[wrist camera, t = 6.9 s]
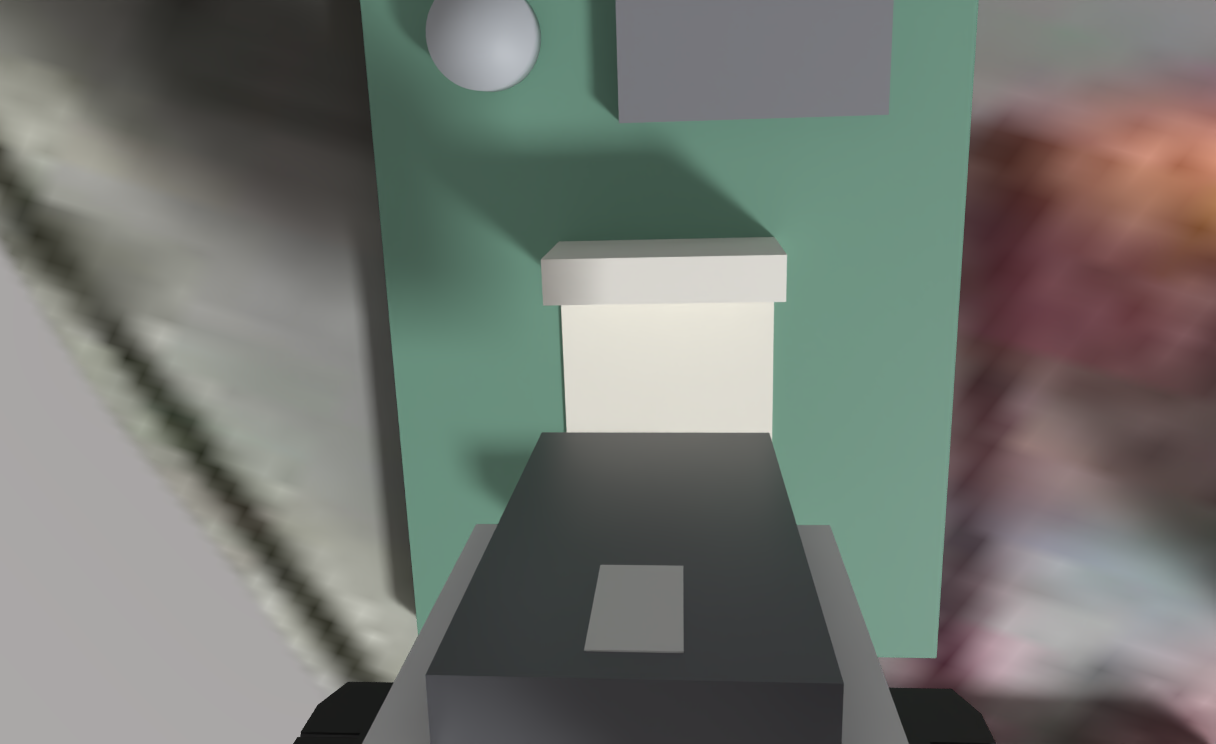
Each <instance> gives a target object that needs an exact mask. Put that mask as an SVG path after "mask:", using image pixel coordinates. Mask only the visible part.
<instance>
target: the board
mask: <svg viewBox="0 0 1216 744" xmlns="http://www.w3.org/2000/svg"><path fill="white" fill-rule="evenodd" d="M360 4H361V15H362V26H363V37H364V48H365V59H366V70H367V81H368V92H369V103H370V114H371V125H372V136H373V147H374V158H375V169H376V179H377V190H378V201H379V212H380V223H381V234H382V245H383V256H384V267H385V278H386V289H387V300H388V311H389V322H390V333H391V343H392V354H393V365H394V376H395V387H396V398H397V409H398V420H399V431H400V442H401V453H402V464H403V475H404V486H405V497H406V507H407V518H408V529H409V540H410V551H411V562H412V573H413V584H414V595H415V606H416V617H417V628H418V635H419V633H420V631H421V629H422V627H423V625H424V624H425V622H426V620H427V618H428V616H429V614H430V612H431V610H432V608H433V606H434V604H435V602H436V600H437V599H438V597H439V595H440V593H441V591H442V589H443V587H444V585H445V583H446V581H447V579H448V577H449V575H450V573H451V572H452V570H453V568H454V566H455V564H456V562H457V560H458V558H459V556H460V554H461V552H462V550H463V548H464V547H465V545H466V543H467V541H468V539H469V537H470V535H471V533H472V531H473V529H474V527H475V525H476V524H498V523H499V520H500V518H501V516H502V514H503V512H504V510H505V508H506V506H507V504H508V502H509V500H510V498H511V495H512V493H513V491H514V489H515V487H516V485H517V483H518V481H519V479H520V477H521V475H522V473H523V470H524V468H525V466H526V464H527V462H528V460H529V458H530V456H531V454H532V452H533V450H534V448H535V445H536V443H537V441H538V439H539V437H540V435H541V433H542V432H704V433H770V437H771V440H772V443H773V447H774V450H775V453H776V457H777V460H778V464H779V467H780V470H781V474H782V477H783V480H784V484H785V487H786V490H787V494H788V497H789V501H790V504H791V507H792V511H793V514H794V517H795V521H796V524H797V525H830V527H831V530H832V532H833V535H834V538H835V541H836V543H837V546H838V549H839V552H840V554H841V557H842V560H843V563H844V566H845V568H846V571H847V574H848V577H849V579H850V582H851V585H852V588H853V591H854V593H855V596H856V599H857V602H858V604H859V607H860V610H861V613H862V615H863V618H864V621H865V624H866V627H867V629H868V632H869V635H870V638H871V640H872V643H873V646H874V649H875V652H876V654H877V657H901V658H936V656H937V641H938V625H939V609H940V594H941V578H942V563H943V547H944V531H945V516H946V500H947V484H948V469H949V453H950V438H951V422H952V406H953V391H954V375H955V359H956V344H957V328H958V313H959V297H960V281H961V266H962V250H963V234H964V219H965V203H966V188H967V172H968V156H969V141H970V125H971V110H972V94H973V78H974V63H975V47H976V31H977V16H978V0H360Z"/></svg>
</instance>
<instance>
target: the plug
mask: <svg viewBox="0 0 1216 744" xmlns="http://www.w3.org/2000/svg"><path fill="white" fill-rule="evenodd" d="M425 677H426V690H427V704H428V718H429V731H430V744H842V720H843V695H844V682H843V679H842V675H841V672H840V669H839V665H838V662H837V659H836V655H835V652H834V649H833V645H832V642H831V638H830V635H829V632H828V628H827V625H826V622H825V618H824V615H823V612H822V608H821V605H820V601H819V598H818V595H817V591H816V588H815V585H814V581H813V578H812V575H811V571H810V568H809V564H808V561H807V558H806V554H805V551H804V548H803V544H802V541H801V538H800V534H799V531H798V527H797V524H796V521H795V517H794V514H793V511H792V507H791V504H790V501H789V497H788V494H787V490H786V487H785V484H784V480H783V477H782V474H781V470H780V467H779V464H778V460H777V457H776V453H775V450H774V447H773V443H772V440H771V437H770V433H704V432H542V433H541V435H540V437H539V439H538V441H537V443H536V445H535V448H534V450H533V452H532V454H531V456H530V458H529V460H528V462H527V464H526V466H525V468H524V470H523V473H522V475H521V477H520V479H519V481H518V483H517V485H516V487H515V489H514V491H513V493H512V495H511V498H510V500H509V502H508V504H507V506H506V508H505V510H504V512H503V514H502V516H501V518H500V520H499V523H498V525H497V527H496V529H495V531H494V533H493V535H492V537H491V539H490V541H489V543H488V545H487V548H486V550H485V552H484V554H483V556H482V558H481V560H480V562H479V564H478V566H477V568H476V570H475V573H474V575H473V577H472V579H471V581H470V583H469V585H468V587H467V589H466V591H465V593H464V595H463V598H462V600H461V602H460V604H459V606H458V608H457V610H456V612H455V614H454V616H453V618H452V620H451V623H450V625H449V627H448V629H447V631H446V633H445V635H444V637H443V639H442V641H441V643H440V645H439V648H438V650H437V652H436V654H435V656H434V658H433V660H432V662H431V664H430V666H429V668H428V670H427V673H426V675H425Z"/></svg>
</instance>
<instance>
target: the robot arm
mask: <svg viewBox="0 0 1216 744" xmlns="http://www.w3.org/2000/svg"><path fill="white" fill-rule="evenodd" d="M497 525H498V524H476V525H475V527H474V529H473V531H472V533H471V535H470V537H469V539H468V541H467V543H466V545H465V547H464V548H463V550H462V552H461V554H460V556H459V558H458V560H457V562H456V564H455V566H454V568H453V570H452V572H451V573H450V575H449V577H448V579H447V581H446V583H445V585H444V587H443V589H442V591H441V593H440V595H439V597H438V599H437V600H436V602H435V604H434V606H433V608H432V610H431V612H430V614H429V616H428V618H427V620H426V622H425V624H424V625H423V627H422V629H421V631H420V633H419V635H418V637H417V639H416V641H415V643H414V645H413V647H412V649H411V651H410V652H409V654H408V656H407V658H406V660H405V662H404V664H403V666H402V668H401V670H400V672H399V674H398V676H397V677H396V679H395V681H394V683H386V682H347V683H346V684H345V685H343V686H342V687H341V688H339V689H338V690H337V691H335V692H334V693H333V694H331V695H330V696H329V697H328V698H326V699H325V700H324V701H322V702H321V703H320V704H318V705H317V707H316V709H315V710H314V712H313V713H312V715H311V717H310V718H309V720H308V721H307V723H306V724H305V726H304V728H303V730H302V731H301V736H300V737H297V739H296V740H295V742H294V743H293V744H430V731H429V718H428V704H427V690H426V677H425V675H426V673H427V670H428V668H429V666H430V664H431V662H432V660H433V658H434V656H435V654H436V652H437V650H438V648H439V645H440V643H441V641H442V639H443V637H444V635H445V633H446V631H447V629H448V627H449V625H450V623H451V620H452V618H453V616H454V614H455V612H456V610H457V608H458V606H459V604H460V602H461V600H462V598H463V595H464V593H465V591H466V589H467V587H468V585H469V583H470V581H471V579H472V577H473V575H474V573H475V570H476V568H477V566H478V564H479V562H480V560H481V558H482V556H483V554H484V552H485V550H486V548H487V545H488V543H489V541H490V539H491V537H492V535H493V533H494V531H495V529H496V527H497ZM797 527H798V531H799V534H800V538H801V541H802V544H803V548H804V551H805V554H806V558H807V561H808V564H809V568H810V571H811V575H812V578H813V581H814V585H815V588H816V591H817V595H818V598H819V601H820V605H821V608H822V612H823V615H824V618H825V622H826V625H827V628H828V632H829V635H830V638H831V642H832V645H833V649H834V652H835V655H836V659H837V662H838V665H839V669H840V672H841V675H842V679H843V682H844V695H843V720H842V744H996V742H995V740H994V738H993V736H992V734H991V732H990V731H989V729H988V727H987V725H986V723H985V721H984V719H983V717H982V715H981V713H979V712H978V711H977V710H976V709H975V708H973V707H972V706H971V705H970V704H969V703H968V702H966V701H965V700H964V699H963V698H962V697H960V696H959V695H958V694H957V693H956V692H955V691H953V690H952V689H925V688H888V685H887V682H886V679H885V676H884V674H883V671H882V668H881V665H880V663H879V660H878V657H877V654H876V652H875V649H874V646H873V643H872V640H871V638H870V635H869V632H868V629H867V627H866V624H865V621H864V618H863V615H862V613H861V610H860V607H859V604H858V602H857V599H856V596H855V593H854V591H853V588H852V585H851V582H850V579H849V577H848V574H847V571H846V568H845V566H844V563H843V560H842V557H841V554H840V552H839V549H838V546H837V543H836V541H835V538H834V535H833V532H832V530H831V527H830V525H797Z"/></svg>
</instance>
